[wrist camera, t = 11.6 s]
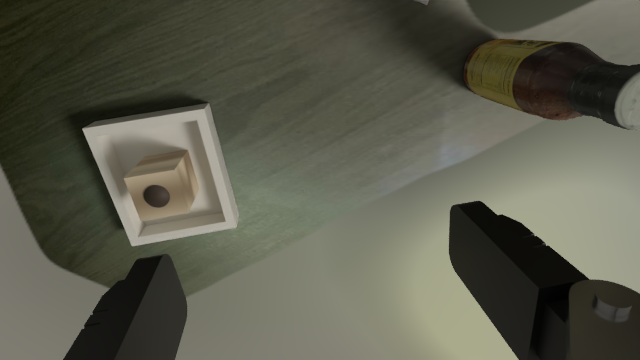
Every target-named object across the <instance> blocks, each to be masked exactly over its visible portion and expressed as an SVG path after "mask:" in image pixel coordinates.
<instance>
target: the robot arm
mask: <svg viewBox="0 0 640 360" xmlns="http://www.w3.org/2000/svg"><path fill="white" fill-rule="evenodd" d="M449 231H450V232H449V255H450V260H451V263H452V266H453V268H454V270H455V272H456V273H457V275H458V276H459V277H460V279H461V280H462V281H463V283H464V284H465V286H466V287H467V288H468V290H469V291H470V293H471V294H472V295H473V297H474V298H475V299H476V301H477V302H478V303H479V305H480V306H481V308H482V309H483V311H484V312H485V313H486V315H487V316H488V317H489V319H490V320H491V322H492V323H493V324H494V326H495V327H496V328H497V330H498V331H499V333H500V334H501V335H502V337H503V338H504V340H505V341H506V342H507V344H508V345H509V347H510V348H511V349H512V351H513V352H514V353H515V355H516V356H517V358H518V359H519V360H640V294H639V293H638V292H636V291H634V290H632V289H630V288H628V287H625V286H623V285H620V284H617V283H613V282H609V281H604V280H590V279H588V278H587V277H586V276H585V275H584V274H582V273H581V272H580V271H579V270H577V269H576V268H575V267H574V266H573V265H571V264H570V263H569V262H568V261H567V260H565V259H564V258H563V257H561V256H560V255H559V254H558V253H557V252H555V251H554V250H553V249H552V248H550V246H546V244H545V242H543V241H542V240H541V239H540V238H539V237H537V236H534V233H532V232H531V231H530V230H529V229H528V228H526V227H525V226H524V225H523V224H522V223H520V222H518V221H516V220H513V219H511V218H509V217H507V216H504V215H497V214H495V213H494V212H493V211H492V210H491V209H489V207H487V206H486V205H485V204H484V203H483V202H481V201H474V202H469V203H463V204H457V205H453V206H452V207H451V210H450V229H449ZM186 318H187V302H186V297H185V294H184V292H183V289H182V286H181V283H180V281H179V278H178V275H177V273H176V270H175V267H174V264H173V262H172V259H171V257H170V256H169V255H168V254H163V255H157V256H151V257H145V258H139V259H137V260H136V261H135V263H134V265H133V266H132V268H131V270H130V272H129V273H128V275H127V277H126V279H125V280H121V281H118V282H117V283H116V284H115V285H114V286H113V287H112V288H110V289H109V290H108V291H107V292H106V293H105V294H104V295H103V296H102V297H101V299H100V301H99V302H98V304H97V306H96V307H95V309H94V310H93V315H90V317H89V319H88V320H87V322H86V323H85V325H84V327H85V328H84V329H82V330H81V332H80V333H79V335H78V337H77V338H76V340H75V341H74V343H73V345H72V346H71V348H70V350H69V351H68V353H67V354H66V356H65V358H64V359H63V360H175V357H176V354H177V350H178V347H179V343H180V340H181V336H182V333H183V329H184V326H185V322H186Z"/></svg>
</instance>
